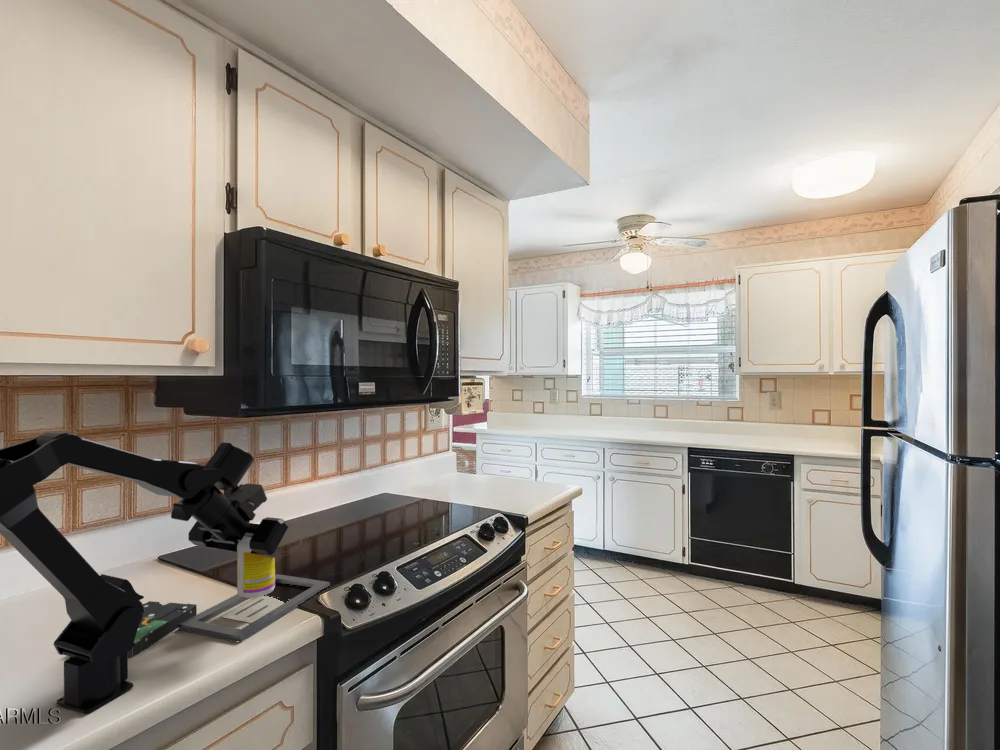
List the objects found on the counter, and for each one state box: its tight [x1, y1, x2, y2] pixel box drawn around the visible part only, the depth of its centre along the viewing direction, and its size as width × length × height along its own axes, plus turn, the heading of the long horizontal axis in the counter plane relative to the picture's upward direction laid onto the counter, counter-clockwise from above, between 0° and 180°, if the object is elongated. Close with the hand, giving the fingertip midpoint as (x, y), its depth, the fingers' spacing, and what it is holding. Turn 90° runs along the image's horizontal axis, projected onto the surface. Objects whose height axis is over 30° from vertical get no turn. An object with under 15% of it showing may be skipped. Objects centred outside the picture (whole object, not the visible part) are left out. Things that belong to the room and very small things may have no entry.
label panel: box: [177, 573, 331, 643], centre depth 103 cm, size 24×14×1 cm, turn 161°
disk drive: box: [128, 600, 198, 659], centre depth 92 cm, size 10×3×15 cm
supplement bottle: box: [236, 521, 276, 599], centre depth 101 cm, size 7×7×13 cm
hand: (261, 553), depth 103 cm, fingers closed on supplement bottle, 7 cm apart
